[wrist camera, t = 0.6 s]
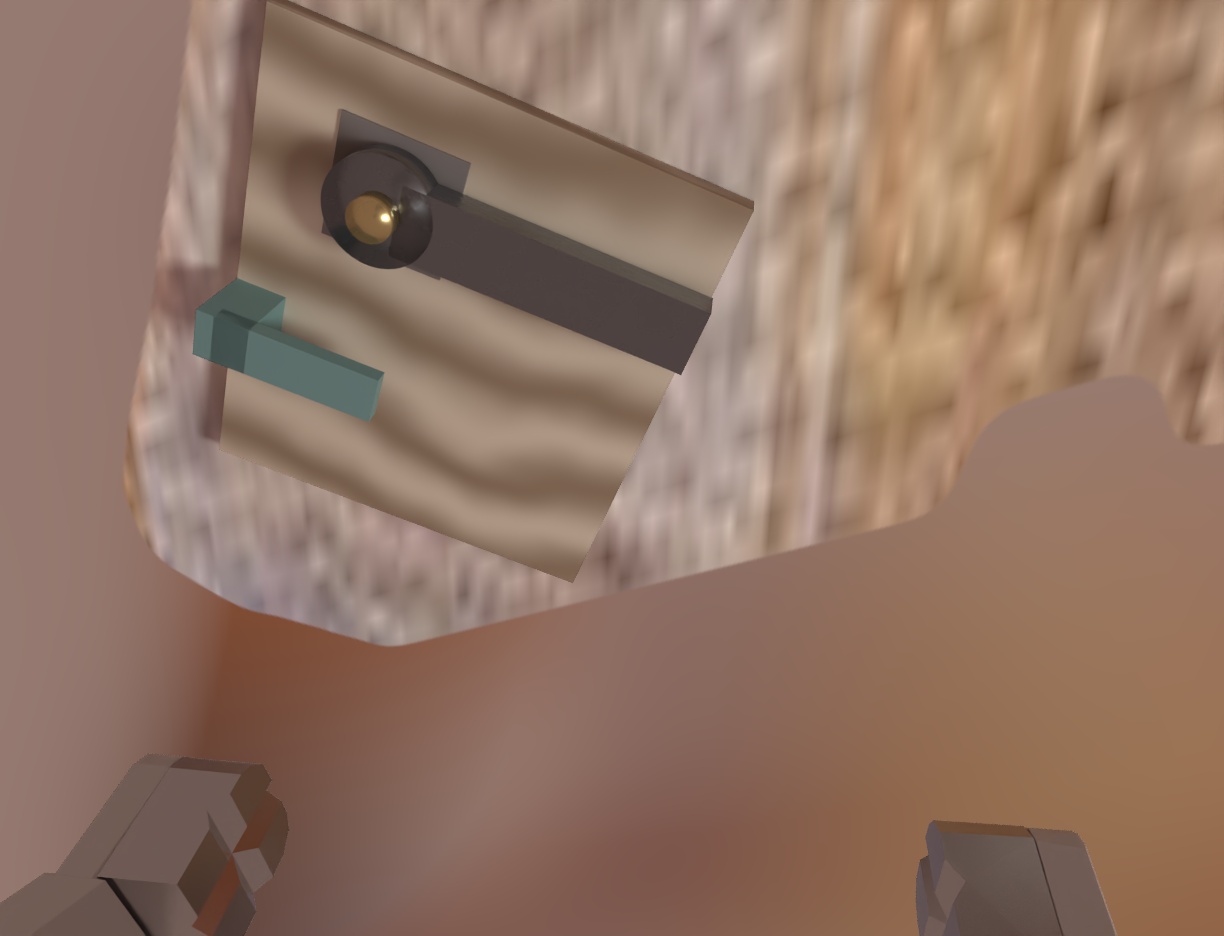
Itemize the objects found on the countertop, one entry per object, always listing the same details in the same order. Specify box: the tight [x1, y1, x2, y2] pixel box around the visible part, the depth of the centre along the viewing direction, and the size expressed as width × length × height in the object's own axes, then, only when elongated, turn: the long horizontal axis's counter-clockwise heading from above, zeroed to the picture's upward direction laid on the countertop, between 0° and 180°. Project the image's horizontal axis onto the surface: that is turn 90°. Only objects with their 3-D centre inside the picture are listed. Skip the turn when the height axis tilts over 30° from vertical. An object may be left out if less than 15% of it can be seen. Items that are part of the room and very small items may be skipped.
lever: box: [320, 144, 713, 375], centre depth 45 cm, size 21×6×3 cm, turn 69°
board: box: [219, 0, 754, 583], centre depth 51 cm, size 29×26×2 cm
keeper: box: [193, 278, 385, 422], centre depth 49 cm, size 3×10×4 cm, turn 69°
